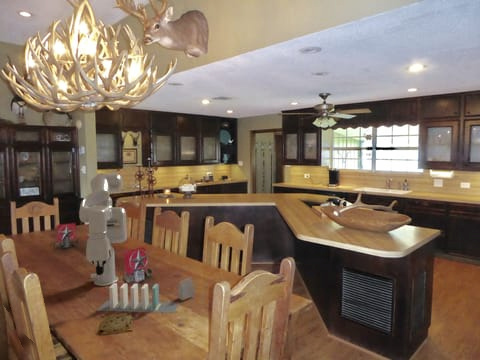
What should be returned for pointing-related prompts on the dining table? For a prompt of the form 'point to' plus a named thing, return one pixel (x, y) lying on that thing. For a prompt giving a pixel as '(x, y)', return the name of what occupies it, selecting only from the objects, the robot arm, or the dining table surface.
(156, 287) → the domino
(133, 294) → the domino
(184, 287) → the grey upright block
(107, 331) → the pastry
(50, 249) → the dining table surface
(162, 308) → the board
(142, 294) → the domino
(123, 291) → the domino
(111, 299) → the domino
